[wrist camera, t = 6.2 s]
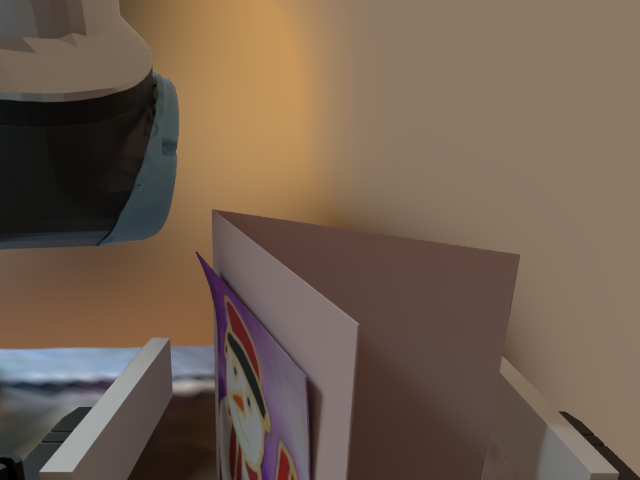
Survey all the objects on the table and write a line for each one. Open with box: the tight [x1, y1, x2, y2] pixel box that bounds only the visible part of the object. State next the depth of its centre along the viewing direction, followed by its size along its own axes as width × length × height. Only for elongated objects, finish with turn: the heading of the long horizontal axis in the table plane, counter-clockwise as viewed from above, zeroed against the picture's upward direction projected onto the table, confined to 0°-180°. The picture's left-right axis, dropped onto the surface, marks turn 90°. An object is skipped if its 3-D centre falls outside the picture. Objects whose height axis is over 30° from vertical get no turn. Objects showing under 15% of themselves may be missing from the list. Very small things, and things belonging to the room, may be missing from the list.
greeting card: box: [196, 209, 520, 480], centre depth 13 cm, size 11×7×15 cm, turn 26°
